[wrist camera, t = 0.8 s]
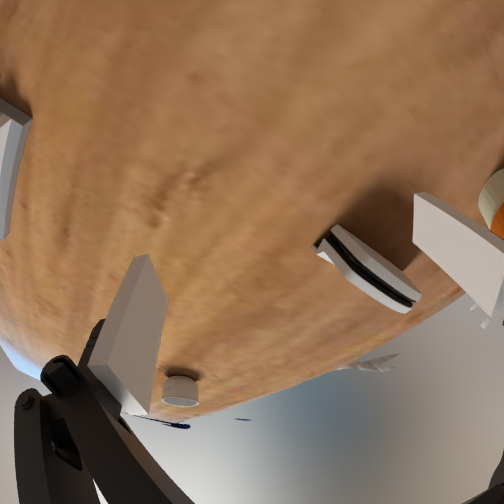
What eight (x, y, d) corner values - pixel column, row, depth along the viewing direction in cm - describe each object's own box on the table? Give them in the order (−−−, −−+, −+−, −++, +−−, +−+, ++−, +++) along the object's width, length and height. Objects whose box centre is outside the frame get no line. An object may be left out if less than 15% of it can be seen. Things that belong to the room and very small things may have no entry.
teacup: (165, 370, 76) (161, 396, 70) (202, 376, 78) (200, 402, 73) (163, 382, 86) (161, 405, 80) (196, 388, 88) (194, 410, 82)
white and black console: (308, 246, 38) (340, 293, 30) (330, 217, 37) (369, 258, 28) (379, 288, 45) (410, 328, 37) (397, 266, 44) (432, 304, 35)
